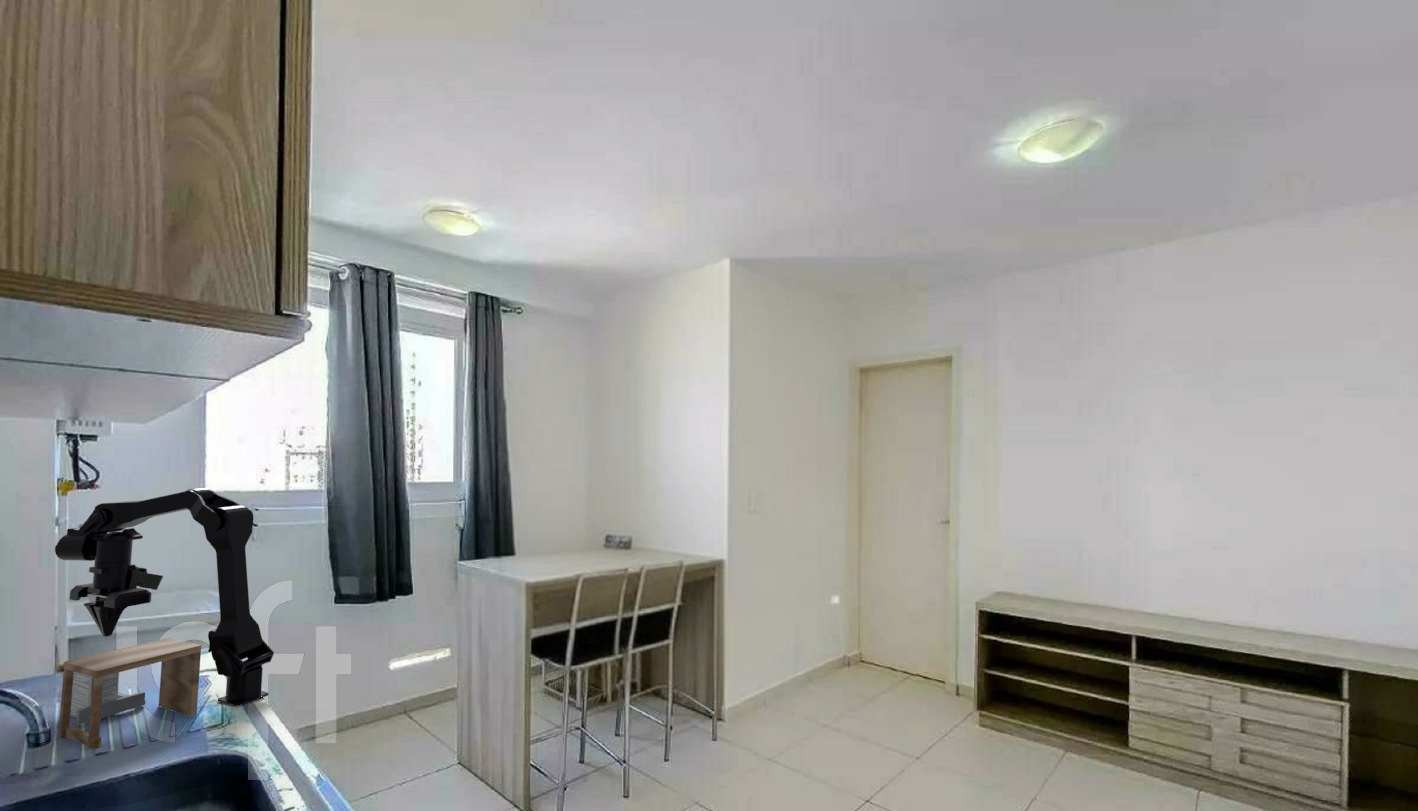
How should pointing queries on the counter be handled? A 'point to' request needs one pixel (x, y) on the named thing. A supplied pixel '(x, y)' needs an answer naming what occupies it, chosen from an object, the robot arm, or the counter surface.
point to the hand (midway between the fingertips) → (107, 636)
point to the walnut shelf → (175, 668)
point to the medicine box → (84, 690)
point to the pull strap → (113, 706)
